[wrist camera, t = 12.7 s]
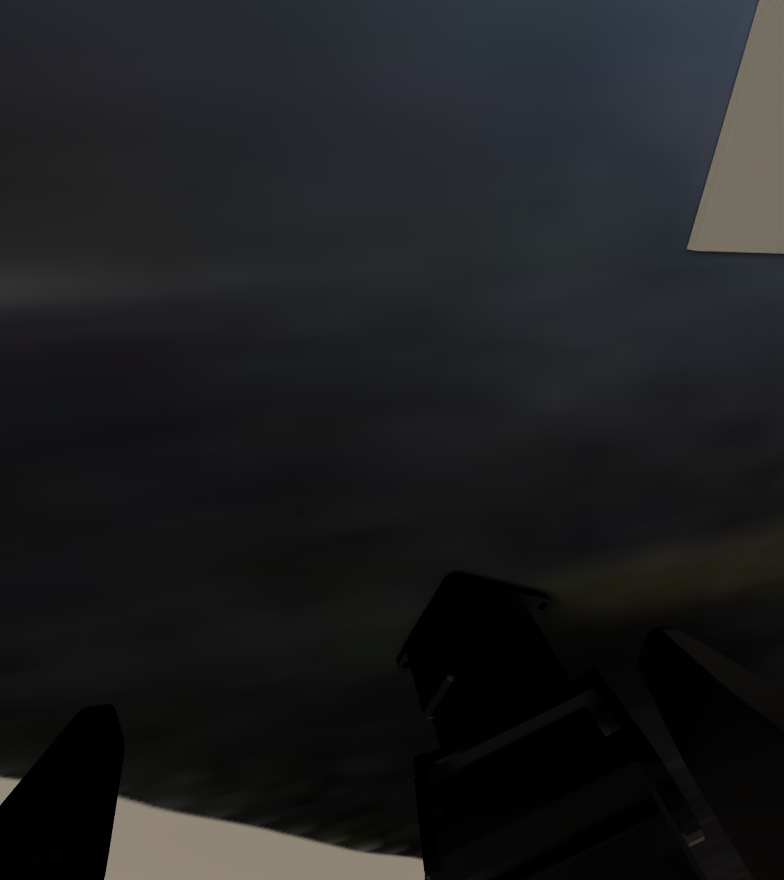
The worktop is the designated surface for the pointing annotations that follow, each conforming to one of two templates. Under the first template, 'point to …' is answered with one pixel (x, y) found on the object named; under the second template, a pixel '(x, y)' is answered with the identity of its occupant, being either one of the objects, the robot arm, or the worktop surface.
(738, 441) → the worktop surface
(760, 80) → the grey mat
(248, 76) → the worktop surface
